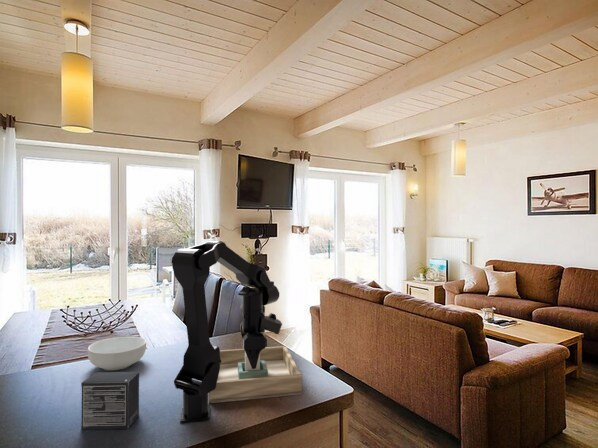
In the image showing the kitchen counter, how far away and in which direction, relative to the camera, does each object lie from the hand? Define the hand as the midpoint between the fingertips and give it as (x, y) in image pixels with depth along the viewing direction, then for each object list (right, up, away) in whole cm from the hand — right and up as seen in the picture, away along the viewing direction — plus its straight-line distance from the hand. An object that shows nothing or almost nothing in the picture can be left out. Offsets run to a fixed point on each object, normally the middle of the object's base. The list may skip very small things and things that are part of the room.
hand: (252, 362), depth 106 cm
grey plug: (0, -4, 0) cm, 4 cm away
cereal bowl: (-44, -5, +10) cm, 45 cm away
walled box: (0, -5, 0) cm, 5 cm away
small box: (-29, -5, -23) cm, 38 cm away
